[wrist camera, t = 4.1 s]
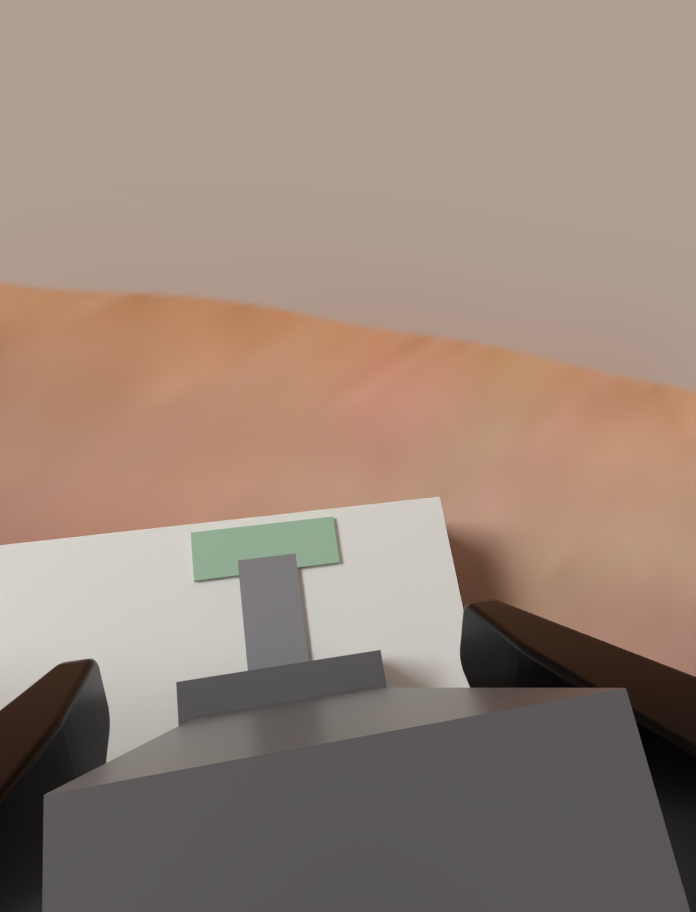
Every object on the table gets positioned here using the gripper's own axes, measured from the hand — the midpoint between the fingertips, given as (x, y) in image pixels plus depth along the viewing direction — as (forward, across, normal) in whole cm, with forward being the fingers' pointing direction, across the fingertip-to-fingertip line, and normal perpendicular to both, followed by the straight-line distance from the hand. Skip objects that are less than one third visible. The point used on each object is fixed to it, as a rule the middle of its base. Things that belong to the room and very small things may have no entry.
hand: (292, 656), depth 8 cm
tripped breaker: (+2, 0, -4) cm, 4 cm away
